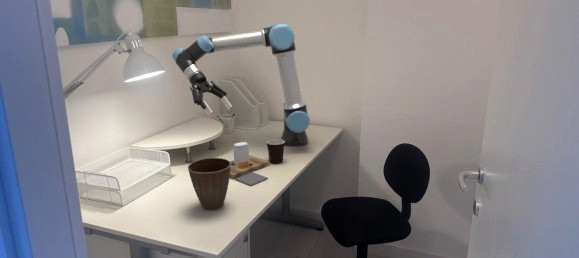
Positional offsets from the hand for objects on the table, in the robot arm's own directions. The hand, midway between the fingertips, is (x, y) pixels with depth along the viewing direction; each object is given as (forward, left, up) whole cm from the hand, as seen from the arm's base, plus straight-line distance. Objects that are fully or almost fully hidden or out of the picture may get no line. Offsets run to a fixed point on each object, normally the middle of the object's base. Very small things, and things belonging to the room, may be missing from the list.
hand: (220, 110), depth 179 cm
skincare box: (0, +14, -25) cm, 29 cm away
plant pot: (+32, +34, -25) cm, 53 cm away
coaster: (+6, +27, -25) cm, 37 cm away
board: (0, +14, -25) cm, 29 cm away
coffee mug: (-18, +19, -25) cm, 36 cm away
